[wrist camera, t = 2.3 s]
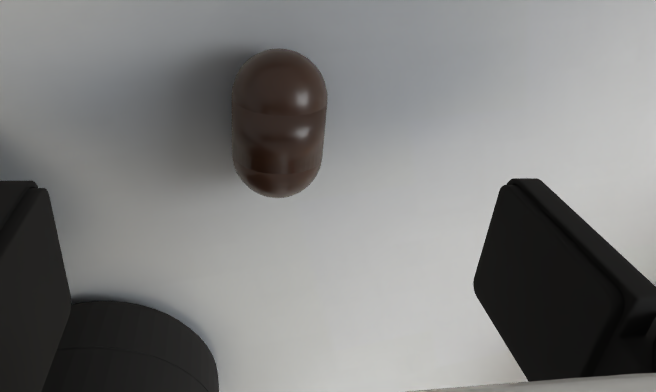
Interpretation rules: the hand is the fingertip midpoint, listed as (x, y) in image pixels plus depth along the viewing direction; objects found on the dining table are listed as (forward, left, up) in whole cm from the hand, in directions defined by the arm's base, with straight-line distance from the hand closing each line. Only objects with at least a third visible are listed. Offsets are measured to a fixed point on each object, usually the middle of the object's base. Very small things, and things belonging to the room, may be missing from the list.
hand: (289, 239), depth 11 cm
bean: (0, 0, -7) cm, 7 cm away
